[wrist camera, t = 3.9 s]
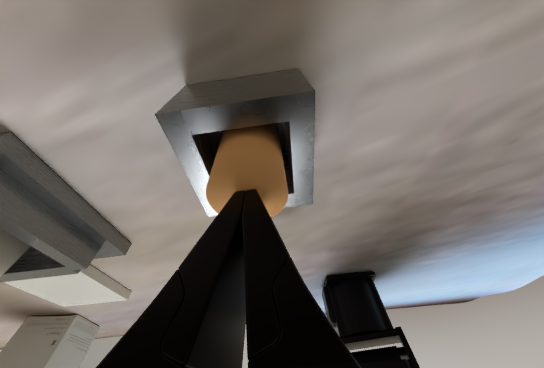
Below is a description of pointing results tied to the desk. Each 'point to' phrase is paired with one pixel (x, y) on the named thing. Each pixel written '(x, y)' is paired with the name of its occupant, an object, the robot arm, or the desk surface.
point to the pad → (75, 288)
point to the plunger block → (243, 125)
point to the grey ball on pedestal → (10, 250)
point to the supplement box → (49, 343)
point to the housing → (49, 218)
